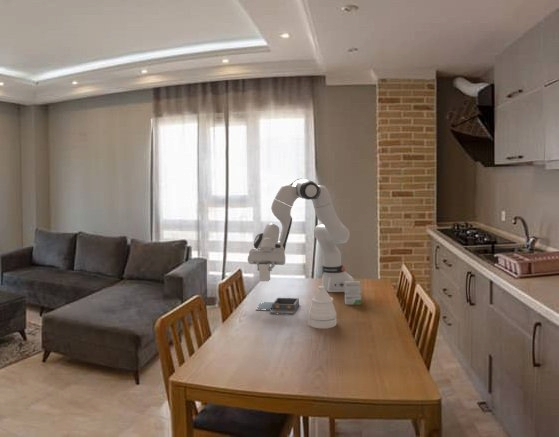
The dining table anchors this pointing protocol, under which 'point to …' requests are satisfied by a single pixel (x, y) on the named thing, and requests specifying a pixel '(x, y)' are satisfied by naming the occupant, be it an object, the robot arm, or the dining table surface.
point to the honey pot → (322, 310)
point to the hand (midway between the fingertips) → (264, 270)
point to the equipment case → (285, 305)
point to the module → (264, 271)
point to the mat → (265, 305)
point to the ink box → (353, 292)
